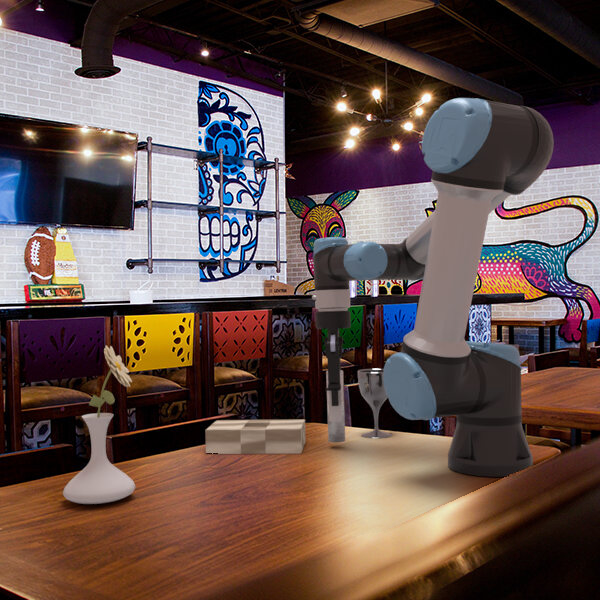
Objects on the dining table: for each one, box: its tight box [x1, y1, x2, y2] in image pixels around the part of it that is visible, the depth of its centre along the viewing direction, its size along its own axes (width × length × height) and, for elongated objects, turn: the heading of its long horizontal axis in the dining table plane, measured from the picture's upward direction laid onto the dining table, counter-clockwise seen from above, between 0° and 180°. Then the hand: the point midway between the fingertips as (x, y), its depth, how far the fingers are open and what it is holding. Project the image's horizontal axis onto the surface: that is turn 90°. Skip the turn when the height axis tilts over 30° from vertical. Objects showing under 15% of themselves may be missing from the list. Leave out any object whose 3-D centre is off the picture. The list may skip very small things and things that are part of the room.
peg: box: [325, 369, 346, 443], centre depth 152 cm, size 4×4×15 cm
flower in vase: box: [62, 345, 136, 505], centre depth 117 cm, size 13×11×25 cm
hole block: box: [204, 418, 306, 455], centre depth 154 cm, size 12×20×5 cm, turn 85°
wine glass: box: [357, 368, 393, 439], centre depth 165 cm, size 8×8×15 cm
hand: (336, 419), depth 152 cm, fingers closed on peg, 3 cm apart
